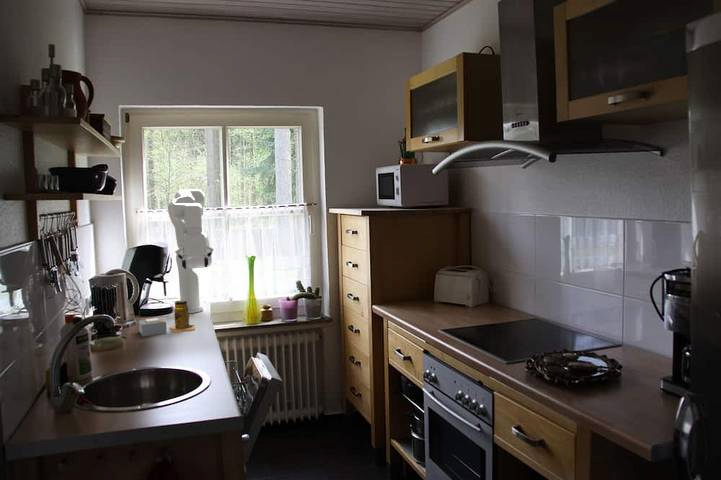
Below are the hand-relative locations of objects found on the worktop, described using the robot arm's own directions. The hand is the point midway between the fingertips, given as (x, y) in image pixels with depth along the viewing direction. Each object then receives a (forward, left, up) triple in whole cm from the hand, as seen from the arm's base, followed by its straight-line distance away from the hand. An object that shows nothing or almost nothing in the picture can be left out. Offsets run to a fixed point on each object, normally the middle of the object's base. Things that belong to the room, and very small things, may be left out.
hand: (195, 267), depth 281 cm
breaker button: (+10, -22, -24) cm, 34 cm away
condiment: (+10, -9, -25) cm, 29 cm away
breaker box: (+10, -22, -26) cm, 35 cm away
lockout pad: (+11, -9, -26) cm, 29 cm away
